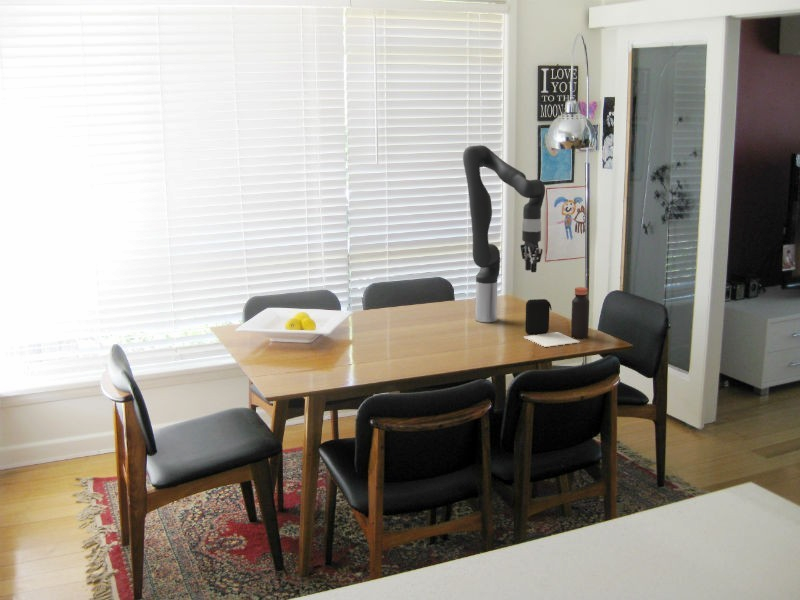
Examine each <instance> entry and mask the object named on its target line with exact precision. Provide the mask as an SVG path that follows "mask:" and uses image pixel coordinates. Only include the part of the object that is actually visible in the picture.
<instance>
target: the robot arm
mask: <svg viewBox="0 0 800 600" xmlns="http://www.w3.org/2000/svg"><path fill="white" fill-rule="evenodd" d="M462 162H463V168H464V173H465V176H466V182H467V183H466V184H467V189H468V190H467V191H468V198H469V199H468V201H469V212H470V219H471V220H470V221H471V233H472V259H473V262H474V264H475V265H476V266H477V267H479V268H480V269H479V271H478V273H477V274H475V275H476V276H475V298H474V299H475V309H474V310H475V311H474V312H475V313H474V315H475V316H474V317H475V321H476V322H479V323H494V322H497V320H498V278H499V275H500V267H501V252H500V249H499V248H498V247H497V245H495V244H493V243H489V229H490V226H491V222H492V218H493V217H492V216H493V206H492V205H493V204H492V199H491V196H490V193H489V192H488V190H487V188H486V186H485V184H484V183H483V181H482V178H481V177H482V176H481V168H487V169H489V170H490V171H493V172H495V173H496V175H497V177H498V178H499V179H500V180H501V181H502V182H504V183H505V184H507V185H508V186H510V187H512V188H513V189H514V190H515V191H516V192H517V193H518V194H519V195H520V196H522V198H523V197H524V198H526V199H529V200H528V202H526V204H524V206H523V214H522V216H523V217H522V228H521V229H522V231H521V232H522V233H521V239H522V240H521V241H523V242H524V244H520V252H521V257H522V260H524V262H525V263H524V264H525V265H524V267H525V268H524V269H525V271H530V272H531V273H536V272H537V267H538V265H537V264H538V263H541V260H542V255H543V252H544V250H543V248H540V247H539V242H541V241H542V220H541V218H542V206H543V202H544V200H545V199H544V198H545V195H546V185H545V184H544V181H543V180H541V179H538V178H537V179H530V180H529V179H527V177H526V174H525V173H524V172H522V171H520V170H519V169H517V168H515V167H514V166H512V165H510V164H508V163H507V162H506V161H504V160H503V159H502V158H501V157H499V156H498V155H497V154H495V152H493V151H492V150H491V149H490V148H489V147H487V146H485V145H481V144H480V145H471V146H467V147H466V148H465V149H464V150H463V154H462Z"/></svg>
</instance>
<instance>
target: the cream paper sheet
mask: <svg viewBox="0 0 800 600" xmlns="http://www.w3.org/2000/svg"><path fill="white" fill-rule="evenodd" d="M523 338H524V339H525V340H527V339H528V340H527V341H529V340H530V341H529V342H531V341H532V343H534V342H535V343H534V344H536V343H537V344H536V345H538V344H539V345H538V346H540V345H541V346H540V347H542V346H544V347H549V348H551V347H550V346H556V347H559V346H558V345H563V346H566V345H565V344H570V345H573V344H572V343H577V344H580V343H581V341H580V340H578V339H576V338H573V337H570V336H568V335H565V334H564V333H561V332H558V331H555V332H554V331H553V332H547V333H546V334H539V335H524V336H523ZM579 342H580V343H579ZM544 347H543V348H544Z"/></svg>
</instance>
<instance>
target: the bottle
mask: <svg viewBox="0 0 800 600" xmlns="http://www.w3.org/2000/svg"><path fill="white" fill-rule="evenodd" d="M574 296H575V297H574V298H573V299H572V301H571V320H570V322H571V323H570V336H571V338H573V337H574V338H573V339H577V338H580V339H579V340H581V339H582V340H584V339H583V338H585V339H587V338H588V337H589V322H590V300H589V298H588V297H587V296H588V287H583V286H578V287H575V288H574Z"/></svg>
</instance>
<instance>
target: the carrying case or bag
mask: <svg viewBox="0 0 800 600" xmlns="http://www.w3.org/2000/svg"><path fill="white" fill-rule="evenodd" d="M550 311H552V305H551V303H550V301H549V300H548V299H546V298H537V299H528V300H527V301H526V302H525V327H524V328H525V329H524V330H525V334H527V336H531V335H535V334H546V333H549V330H550Z"/></svg>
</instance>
